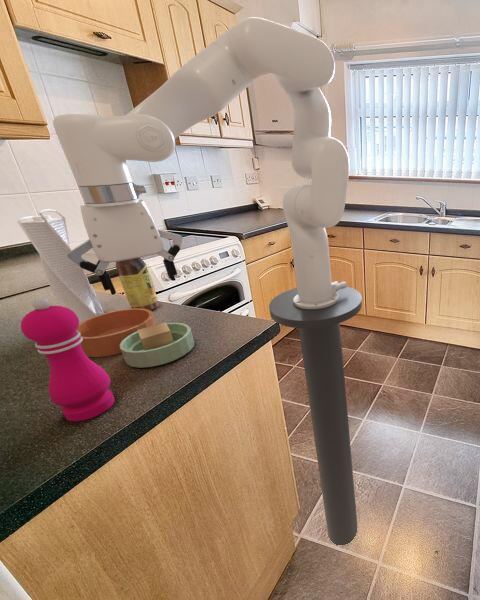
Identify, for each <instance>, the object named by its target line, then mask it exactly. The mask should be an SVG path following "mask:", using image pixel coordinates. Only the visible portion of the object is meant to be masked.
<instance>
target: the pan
mask: <svg viewBox="0 0 480 600" xmlns="http://www.w3.org/2000/svg"><path fill="white" fill-rule="evenodd" d="M154 325H157V322H156V319H155V316H154V314H153V312H152V310H151V311H150V310H147V309H141V308H133V309H132V308H124V309H118V310H113V311H109V312H105V313H104V314H101V315H98V316H94V317H92V318H89V319H87V320H85V321H83V322H81V323H79V326H78V328H77V330H76V331H78V332H80V336H81V337H82V338H83V340H82V342H81V346H82V349H83V351H84V353H85V355H86V356H87V357H88V358H102V357H109V356H113V355H118V354H122V352H121V349H120V343H121V342H122V340H124V339H125V338H126V337H127V336H129V335H131V334H133V333H134V332H136V331H137V330H139V329H143V328H147V327H150V326H154Z"/></svg>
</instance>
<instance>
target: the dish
mask: <svg viewBox="0 0 480 600" xmlns="http://www.w3.org/2000/svg"><path fill="white" fill-rule="evenodd" d="M165 323H166V324H167V326H168V328H169V330H170V332H171V335H172V338H173V341H174V342H173V343H171V344H168V345H166V346H163V347H159V348H156V349H151V350H144V347H143V345H142V342H141V339H140V336H139V334H138V331H136V332H134V333H133V334H131V335H129V336H127V337H126V338H125V339H124V340H122V342H121V343H120V349H121V352H122V353H121V354H122V356H123V360H124V361H125V364H126V365H128V366H129V367H132V368H153V367H158V366H162V365H166V364H168V363H171V362H174V361H176V360H178V359H180V358H182V357H184V356H185V355H186V354H188V353H189V352H190V351H192V349H193V348H194V346H195V339H194V336H193V332H192V329H191V327H190V326H189V325H188V324H186V323H183V322H165Z"/></svg>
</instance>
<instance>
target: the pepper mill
mask: <svg viewBox="0 0 480 600" xmlns="http://www.w3.org/2000/svg"><path fill="white" fill-rule="evenodd" d="M32 307H33V308H34V309H33V310H31V311H30V312H28V313H26V314H25V315H24V317H23V318H22V320H21V321H20V330H21V332H22V334H23V336H25V337H26V338H27V339H28V340H31V341H34V342H35V343H34V348H36V349H37V352H38V353H39V354H41V355H44V356H45V357H46V360H47V361H48V364H49V369H50V374H49V381H48V395H49V398H50V400H51V402H52V403H53V404H54V405H56V406H59V407H62V408H61V412H62V413H63V416H64V418H65V419H66V420H67V421H69V422H72V423H73V422H74V423H75V422H83V421H87V420H90V419H94V418H96V417H97V416H100V415H102V414H103V413H105V412H106V411H108V410H109V409H110V408H111V407H112V406H113V405H114V404H115V401H116V400H115V399H116V398H115V396H114V394H113V391H112V390H111V389H109V388H110V386H111V378H110V376H109V374H108V373H107V371H106V370H105V369H104V368H103V367H102V366H100V365H98V364H97V363H95V362H94V361H92V360H91V359H90V357H87V356H86V355H85V353H84V351H83V349H82V346H81V342H82V340H83V338H82V337H81V336H80V332H78V331H76V330H77V328H78V326H79V319H78V317H77V315H76V314H75V313H74V312H73V311H72V310H71V309H69V308H66V307H62V306H61V305H51V301H50V300H49V299H47V298H45V297H38V298H35V299H34V300H33V301H32Z"/></svg>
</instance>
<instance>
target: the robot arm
mask: <svg viewBox="0 0 480 600" xmlns="http://www.w3.org/2000/svg"><path fill="white" fill-rule="evenodd" d="M335 72H336V61H335V57H334V55H333V52H332V50H331V49H330V48H329V46H328V45H327V44H326V43H325V42H324V41H323V40H321V39H319V38H318V37H316V36H314V35H311V34H309V33H307V32H303V31H300V30H298V29H295V28H292V27H290V26H287V25H284V24H281V23H279V22H277V21H272V20H270V19H266V18H262V17H258V16H257V17H256V16H250V17H246V18H243V19H242V20H240V21H239V22H238V23H236V24H234V25H233V26H231V27H229V28H228V29H227V30H226V31H224V32H223V33H222V34H221V35H219V36H218V37H217V38H215V39H214V40H213V41H212V42H211V43H209V44H208V45H207V46H206V47H205V48H203V49H202V50H200V52H198V53H197V54H196V55H194V56H193V57H192V58H190V59H189V60H188V61H187V62H186V63H184V64H183V65H182V66H181V67H179V68H178V69H177V70H176V71H175V72H173V74H172V75H170V77H169V78H168V79H167V80H166V81H165V82H164V83H163V84H162V85H161V86H160V87H159V88H157V89H156V90H155V91H153V93H151V94H150V95H149V96H147V97H146V98H145V99H143V100H142V101H141V102H140V103H139V104H138V105H136V106H135V107H134V108H133V109H131V110H130V111H128V113H126V114H124V115H116V116H114V115H113V116H103V115H97V114H88V113H87V114H85V113H72V114H71V113H66V114H59V115H56V116H54V118H53V122H52V125H53V129H54V132H55V134H56V136H57V139H58V140H59V144H60V146H61V148H62V151H63V153H64V155H65V158H66V161H67V163H68V165H69V168H70V170H71V174H72V175H73V178H74V180H75V183H76V185H77V187H78V191H79V193H80V195H81V198H82V199H83V202H84V204H82V205H80V213H81V217H82V222H83V224H84V228H85V230H86V234H87V236H88V239H87V240H85V241H84V242H82V243H81V244H79V245H77V246H76V247H74V248H73V249H71V250H72V251H70V252H68V253H67V257H68V258H69V259H71V260H72V261H73V262H75V263H76V264H77V265H79V266H80V267H81V268H83V270H84V271H88V272H90V273H93V274H95V275H96V276H98V278H99V280H100V283H101V285H102V287H103V290H104V292H106V291H110V294H111V295H112V296H114V295H116V294H117V291H116V288H115V286H114V284H113V282H112V278H111V276H110V273H109V271H108V270H107V269H108V267H109V265H110V263H116V262H118V261H123V260H129V259H134V258H144V257H150V256H154V255H158V256H160V257H162V258H163V260H162V262H163V265H164V267H165V268H164V269H165V271H166V274H167V277H168V279H169V280H170V281H171V282H174V281H176V280H177V279H176V277H175V276H177V275H178V272H177V271H178V270H177V268H176V265H175V262H174V260H175V258H176V256H177V255H178V253H179V252H180V250H181V246H182V243H183V239H184V238H183V236H182V235H180V234H178V233H174V232H170V231H166V230H163V229H158V226H157V225H156V222H155V220H154V218H153V215H152V214H151V212H150V209H149V207H148V205H147V204H146V202H145V201H144V199H139V198H140V197H139V196H140V195H142V194H146V193H147V190H146V188H145V185H139V184H136V183H134V180H133V178H132V175H131V172H130V169H129V167H128V163H127V161H135V162H136V161H137V162H146V163H147V162H148V163H158V162H163V161H165V160H167V159H168V158H170V157H171V156H172V154H173V153H174V151H175V148H176V139H177V138H179V137H180V136H181V135H182V134H184V133H185V132H186V131H187V130H189V129H191V128H192V127H193V126H195V125H197V124H199V123H200V122H203V121H205V120H208V119H210V118H213V117H214V116H215V115H217V114H218V113H220V112H221V111H223V110H224V109H225V108H226V107H227V106H229V104H230V103H232V102H233V101H234V99H236V98H237V97H238V96H239V95H240V94H242V93H243V92H244V91H245V90H246V89H248V87H250V86H251V85H252V84H253V83H254V82H255V81H257V80H258V79H259V78H260V77H262V76H264V75H268V74H273V75H274V77H275V79H276V81H277V83H278V85H280V87H281V88H282V89H283V91H284V92H285V94H286V95H287V96H288V99H289V100H290V102H291V104H292V108H293V113H294V114H293V115H294V119H293V120H294V122H293V123H294V124H293V136H292V146H291V147H292V148H291V166H292V169H293V170H294V172H295V174H296V175H298V176H299V177H301V178H304V179H308V180H310V184H306V183H299V184H294V185H292V186H290V187H289V188H287V190H286V191H285V193H284V195H283V198H282V210H283V214H284V217H285V221H286V224H287V227H288V232H289V237H290V244H291V251H292V259H293V265H294V266H293V267H294V273H295V281H296V288H297V289H298V294H297V295H296V296H295V297H294V299H293V302H294V305H295V306H297V307H299V308H302V309H321V308H326V307H329V306H331V305H333V304H335V303H336V302H337V301H338V299H339V295H338V293H337V291H338V290H339V289H343V288H346V287H348V284H347V281H342V282H339V281H338V280H336V281H333V279H332V270H331V269H332V268H331V259H330V250H329V249H330V248H329V237H328V233H327V229H330V228H333V227H335V226H336V225H338V223H340V222H341V220H342V217H343V216H344V212H345V208H346V207H345V206H346V200H347V194H348V193H347V192H348V186H349V185H348V184H349V177H350V156H349V154H348V150H347V148H346V147H345V145H344V144H343V142H341V140H339V139H338V138H335V137H332V136H331V127H332V115H331V114H332V113H331V109H330V106H329V103H328V101H327V98H326V97H325V95H324V93H323V91H322V89H321V88H323V87H326V86H328V84H330V83H331V81H332V80H333V78H334V76H335ZM162 238H163V239H167V240H172V244H171V246H170V247H169V249H168V250H166V249H164V243H163V240H162ZM92 249H93V252H94V255H96V258H97V259H98V260H97V262H95V263H93V262H91V261H88V260H86V259H85V258H83V257H82V256H83V255H85V253H87V252H89V251H90V250H92Z"/></svg>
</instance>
